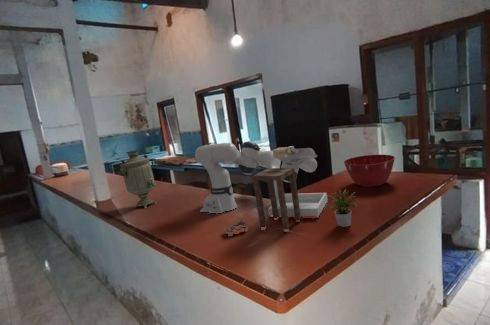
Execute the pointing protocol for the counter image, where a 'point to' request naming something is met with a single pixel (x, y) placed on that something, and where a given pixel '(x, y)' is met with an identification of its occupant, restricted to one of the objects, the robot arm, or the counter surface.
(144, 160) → the samovar
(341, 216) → the house plant
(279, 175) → the walnut stand
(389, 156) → the mixing bowl
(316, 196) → the grey tray
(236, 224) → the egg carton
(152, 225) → the counter surface
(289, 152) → the mallet
